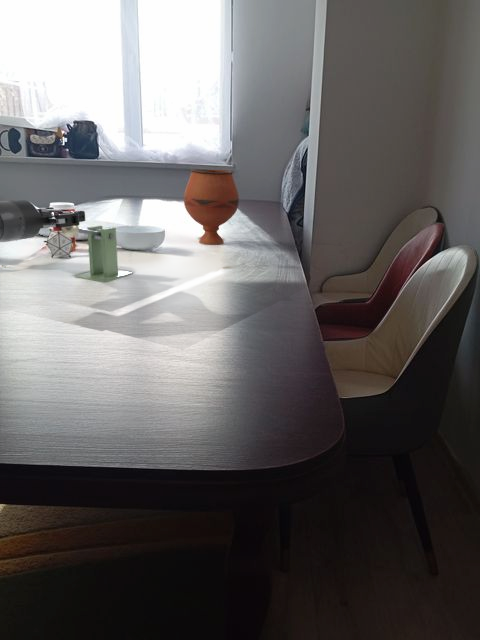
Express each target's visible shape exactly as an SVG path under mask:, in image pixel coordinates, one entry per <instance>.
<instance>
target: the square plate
mask: <svg viewBox="0 0 480 640" xmlns="http://www.w3.org/2000/svg"><path fill="white" fill-rule="evenodd" d="M99 225H100V226H102V229H104V228H110V227H117V226H131V225H130V224H123V223H117V222H111V221H104V220H93V219H85V221H83V222H79V225H78V228H80V229H85V230H87V227H92V226H99ZM49 228H50V229H51V230H52V231H53V227H49ZM49 228H41V229H40V231H39V233H38V234H37V235H39V234H40V235H39V236H41V235H43V236H42V237H48V236H49V234H50V232H51V231H50V230H49ZM75 238H76V241H85V240H86V241H88V235H87V234H82V233H78V234H77V235H76V236H75Z"/></svg>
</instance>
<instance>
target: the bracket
mask: <svg viewBox="0 0 480 640" xmlns="http://www.w3.org/2000/svg"><path fill="white" fill-rule="evenodd" d="M95 229H101V238H102V240H99V239H94V236H93V235H88V239H87V243H88V244H87V245H88V257H89V271H87V272H85V273H81V274H77V275H74V278H77V279H82V280H83V279H84V280H90V281H95V282H102V283H108V282H111V281H114V280H117V279H121V278H123V277H127V276H129V275H133V271H132V272H131V271H126V270H121V269H119V268H118V267H119V266H118V265H119V264H118V245H117V243H116V228H115V227H110V228H104V229H102V226H100V225H99V226H92V227H87V230H90V231H95Z"/></svg>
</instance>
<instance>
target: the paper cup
mask: <svg viewBox="0 0 480 640" xmlns="http://www.w3.org/2000/svg"><path fill="white" fill-rule="evenodd" d="M49 207H53V208H54V209H60V210H62V212H70V211H72V212H73V211H76V209H77V207H76V206H75V203H73V202H63V201H62V202H61V201H60V202H59V201H58V202H50V203H49ZM56 214H58V213H57V212H54V215H56ZM53 224H55V223H53ZM53 231H62V227H61V228H57V227H53ZM71 239H72V241H75V242H73V244H76V243H77V240H76V238H75V237H71ZM76 245H77V244H76ZM76 245H75V246H74V245H73V247H72V250H71V252H75V251H76V247H77V246H76Z"/></svg>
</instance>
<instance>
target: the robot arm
mask: <svg viewBox="0 0 480 640" xmlns="http://www.w3.org/2000/svg"><path fill="white" fill-rule="evenodd" d="M54 212H57V213H58V214H56V215H54ZM85 220H86V212H85V210H75V211H73V212H72V211H70V212H62V210H60V209H54V208H53V207H50V206H47V207H46V206H45V207H38V206H35V205H34V204H33V203H32V202H31V201H29V200H27V199H12V200H0V243H8V242H14V241H15V242H16V241H22V240H27V239H32V238H35V237H36V236H38V235H39V234H38V233H39V231H40V229H41V228H49V227H57V228H61V227H69V226H78V225H79V222H83V221H85ZM53 223H55V224H53Z"/></svg>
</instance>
